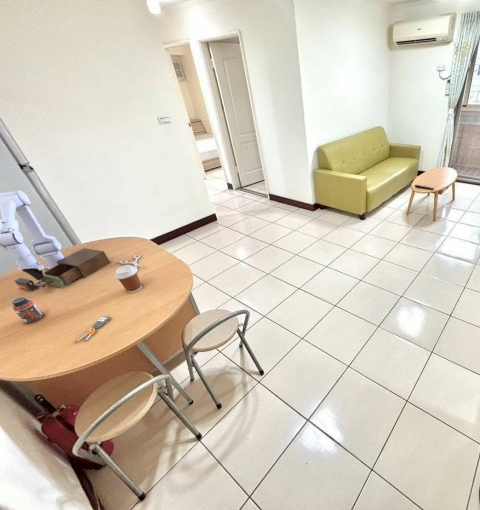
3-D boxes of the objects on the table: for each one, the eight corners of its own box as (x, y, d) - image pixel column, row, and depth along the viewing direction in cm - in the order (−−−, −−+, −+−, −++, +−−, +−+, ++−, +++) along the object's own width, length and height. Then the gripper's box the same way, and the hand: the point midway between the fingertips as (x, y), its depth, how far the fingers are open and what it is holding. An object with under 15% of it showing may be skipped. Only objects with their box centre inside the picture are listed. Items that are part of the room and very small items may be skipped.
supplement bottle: (27, 325, 117) (10, 306, 111) (23, 320, 120) (5, 301, 114) (45, 317, 121) (29, 298, 115) (41, 312, 124) (25, 293, 118)
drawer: (52, 294, 133) (45, 284, 130) (32, 289, 136) (25, 280, 133) (90, 272, 148) (84, 263, 144) (71, 268, 151) (65, 259, 147)
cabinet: (84, 277, 145) (77, 265, 141) (64, 273, 148) (56, 261, 144) (110, 262, 157) (103, 251, 153) (91, 259, 160) (84, 247, 156)
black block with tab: (20, 288, 138) (14, 280, 135) (26, 285, 140) (20, 277, 137) (33, 291, 136) (26, 283, 133) (39, 288, 138) (33, 280, 135)
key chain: (103, 318, 121) (101, 315, 120) (110, 318, 121) (109, 316, 120) (76, 341, 110) (74, 339, 109) (85, 342, 110) (83, 340, 109)
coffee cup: (119, 291, 136) (108, 271, 129) (137, 280, 143) (127, 262, 136) (131, 296, 133) (119, 276, 126) (148, 285, 140) (139, 266, 133)
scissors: (137, 253, 164) (151, 264, 153) (138, 254, 164) (152, 266, 154) (117, 261, 157) (130, 273, 146) (117, 262, 157) (131, 275, 147)
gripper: (1, 258, 124) (20, 281, 131) (23, 263, 121) (42, 286, 128) (19, 250, 130) (37, 273, 137) (41, 254, 126) (58, 277, 134)
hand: (40, 279), depth 133 cm, fingers closed
